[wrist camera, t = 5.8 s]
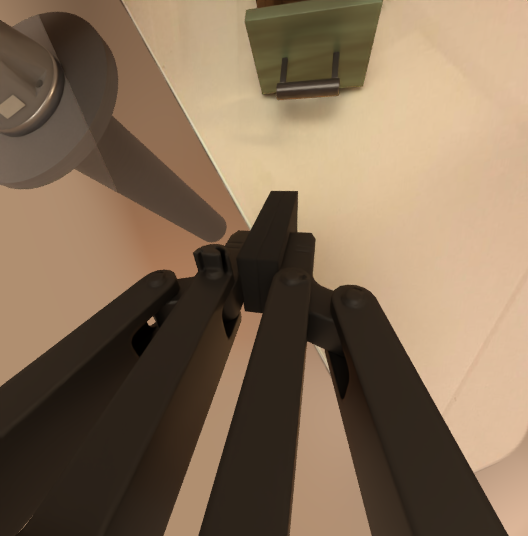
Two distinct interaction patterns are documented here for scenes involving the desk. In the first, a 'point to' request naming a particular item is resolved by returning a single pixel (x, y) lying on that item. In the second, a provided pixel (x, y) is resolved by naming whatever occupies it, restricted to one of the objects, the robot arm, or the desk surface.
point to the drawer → (311, 45)
